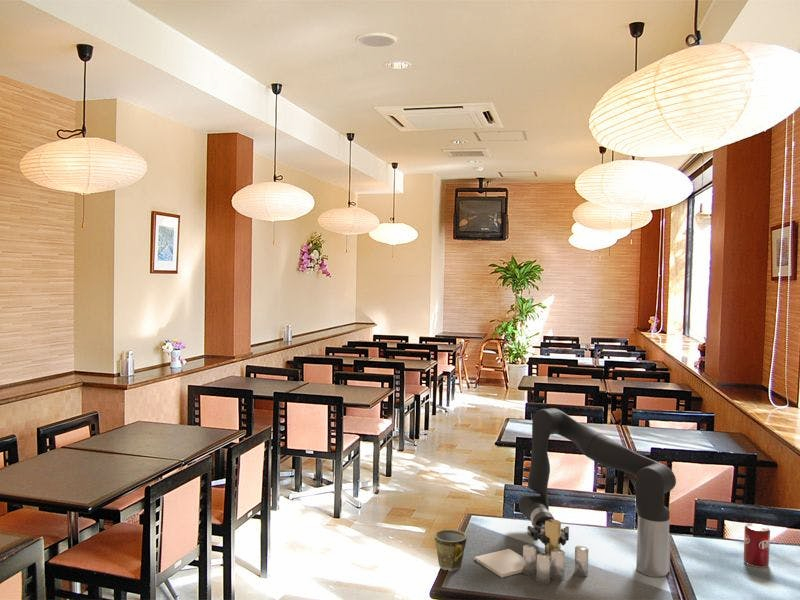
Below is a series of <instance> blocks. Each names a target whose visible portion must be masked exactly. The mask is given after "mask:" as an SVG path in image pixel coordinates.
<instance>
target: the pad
mask: <svg viewBox="0 0 800 600" xmlns="http://www.w3.org/2000/svg"><path fill="white" fill-rule="evenodd" d="M475 560H476V561H475ZM474 561H475V562H477V563H478V564H480V565H481V566H484V567H485V568H486V569H488V570H490V571H491V572H493V573H494V574H495V575H497V576H499V577H500V578H505V577H509V576H513V575H516V574H521V573H523V555H520V553H517V552H515V551H514V550H512V549H511V548H506V549H503V550H499V551H494V552H489V553H485V554H481V555H477V556H474ZM536 569H537V564H536Z"/></svg>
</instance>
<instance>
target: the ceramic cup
mask: <svg viewBox="0 0 800 600" xmlns="http://www.w3.org/2000/svg"><path fill="white" fill-rule="evenodd" d="M434 541H435V542H434V543H435V547H436V554H437V560H438V561H437V563H438V566H439V567H440V568H441V570H443V569H444V570H443V571H446V570H448V571H447V572H455V570H457V571H459V570H460V569H459V568H461V567H462V563H463V560H464V559H463V558H464V554H465V553H464V552H465V549H466V544H467V534H466V533H465V532H463V531H462V530H457V529H451V528H450V529H441V530H438V531H436V532H435V534H434ZM442 565H443V566H442Z"/></svg>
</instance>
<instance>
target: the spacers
mask: <svg viewBox="0 0 800 600" xmlns="http://www.w3.org/2000/svg"><path fill="white" fill-rule="evenodd" d="M565 554H566V552H565V551H564V550H563V549H561V550H560V549H553V550H552V551H551V556H550V555H549V554H547V553H545V552H539V553H537V546H536V545H533V544H524V545H523V546H522V557H523V572H522V573H523V575H525V576H529V577H532V576H535V578H536V580H535V582H536V583H537V584H538V585H540V586H548V585H550V583H551V579H552V580H554V581H558V582H561V581H564V580H565V561H566V557H565V556H566V555H565ZM550 559H551V562H550ZM536 565H537V568H536ZM573 574H574V575H575V576H576V577H580V578H585V577H588V576H589V547H587V546H584V545H576V546H575V547H574V572H573Z"/></svg>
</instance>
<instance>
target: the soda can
mask: <svg viewBox="0 0 800 600" xmlns="http://www.w3.org/2000/svg"><path fill="white" fill-rule="evenodd" d="M743 534H744V536H743V539H744V540H743V561H744V563H745V562H746V563H748V564H750V565H753V566H757V567H756V568H758V567H765V568H767V567H768V566H769V565H770V545H771V530H770V528H769V527H768V526H766V525H763V524H761V523H760V524H759V523H751V522H749V523H747V524H745V525H744V533H743ZM746 563H745V564H746ZM748 564H747V565H748ZM750 565H749V566H750ZM753 566H752V567H753Z"/></svg>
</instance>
